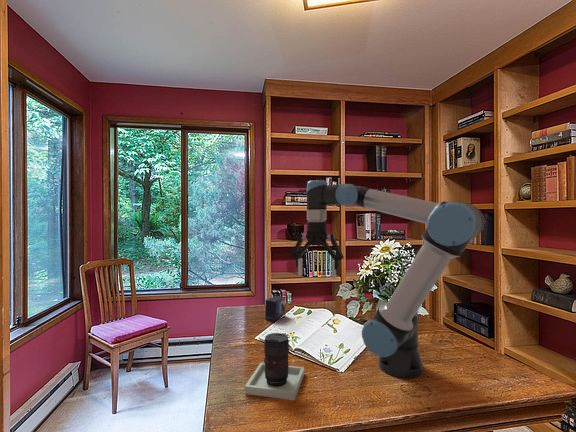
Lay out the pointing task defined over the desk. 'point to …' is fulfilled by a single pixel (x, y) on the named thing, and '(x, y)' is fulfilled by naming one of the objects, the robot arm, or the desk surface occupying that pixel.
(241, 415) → the desk surface
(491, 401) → the desk surface
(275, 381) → the camera lens
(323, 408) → the desk surface
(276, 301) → the small box
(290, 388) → the tray
